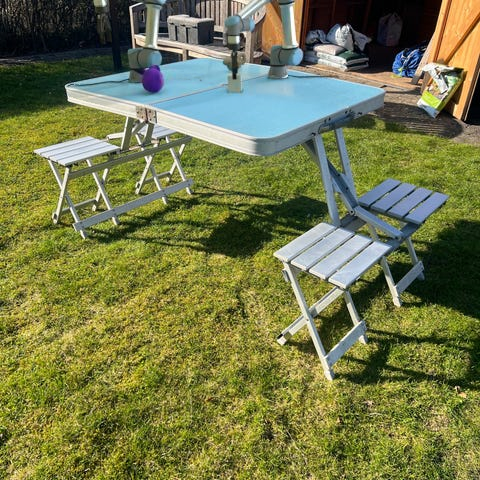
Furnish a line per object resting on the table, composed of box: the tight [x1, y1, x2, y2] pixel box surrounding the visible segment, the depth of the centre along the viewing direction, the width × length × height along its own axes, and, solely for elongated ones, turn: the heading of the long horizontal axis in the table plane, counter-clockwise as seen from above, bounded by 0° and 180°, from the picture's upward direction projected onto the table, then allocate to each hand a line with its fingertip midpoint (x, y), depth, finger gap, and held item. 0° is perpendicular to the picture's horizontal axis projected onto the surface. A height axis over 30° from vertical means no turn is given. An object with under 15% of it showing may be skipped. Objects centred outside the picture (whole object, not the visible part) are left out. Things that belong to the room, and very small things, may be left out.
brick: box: [227, 72, 243, 93], centre depth 302 cm, size 8×9×11 cm
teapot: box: [222, 52, 247, 72], centre depth 365 cm, size 21×12×15 cm, turn 120°
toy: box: [134, 65, 165, 94], centre depth 304 cm, size 16×18×27 cm
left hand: (106, 42), depth 291 cm, fingers open, 13 cm apart
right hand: (235, 77), depth 300 cm, fingers open, 13 cm apart
